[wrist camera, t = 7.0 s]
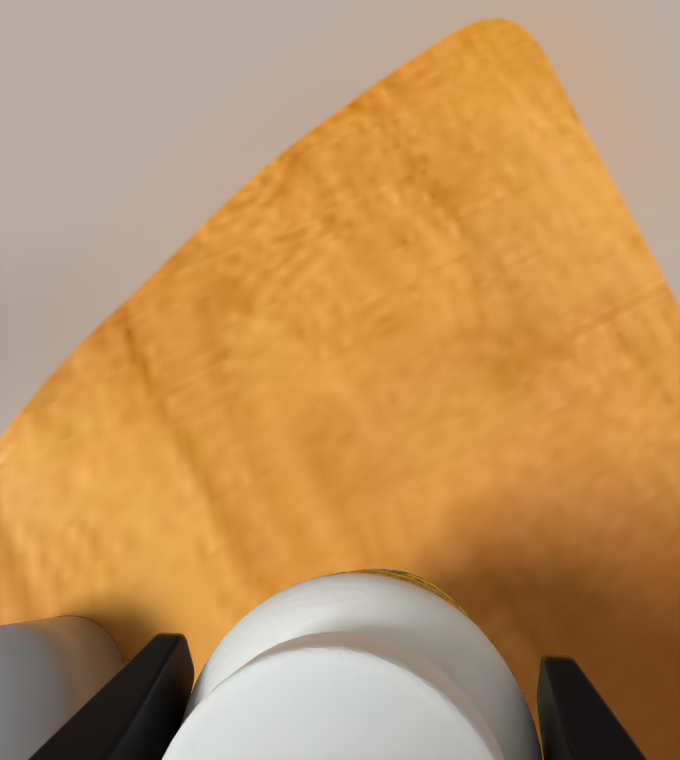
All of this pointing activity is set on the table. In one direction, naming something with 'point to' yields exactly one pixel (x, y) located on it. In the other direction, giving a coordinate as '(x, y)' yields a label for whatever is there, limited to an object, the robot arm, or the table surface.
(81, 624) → the gray capsule
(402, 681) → the supplement bottle
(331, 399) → the table surface
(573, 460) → the table surface
